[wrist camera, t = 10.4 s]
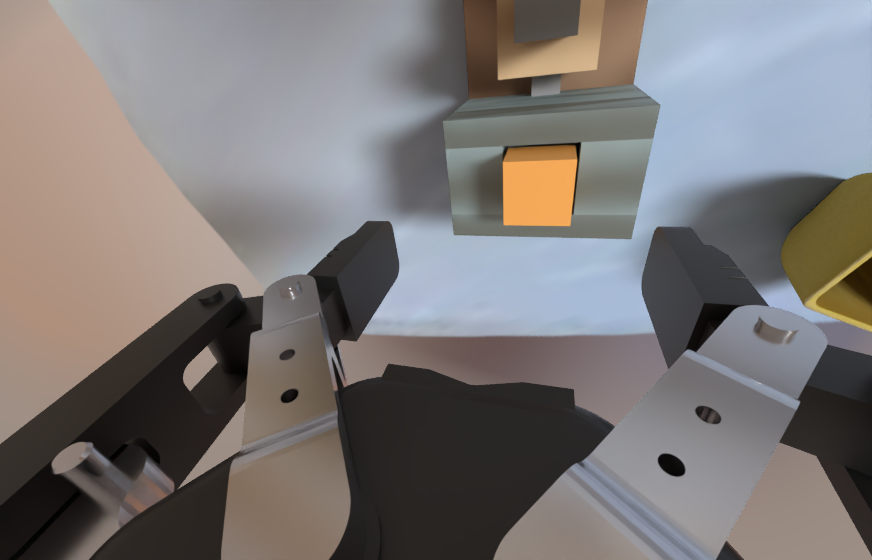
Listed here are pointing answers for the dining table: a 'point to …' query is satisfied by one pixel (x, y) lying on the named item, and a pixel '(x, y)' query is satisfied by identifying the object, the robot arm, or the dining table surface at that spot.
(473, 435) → the robot arm
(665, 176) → the dining table surface
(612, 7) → the rail rig
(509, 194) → the button
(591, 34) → the carriage
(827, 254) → the flower pot
